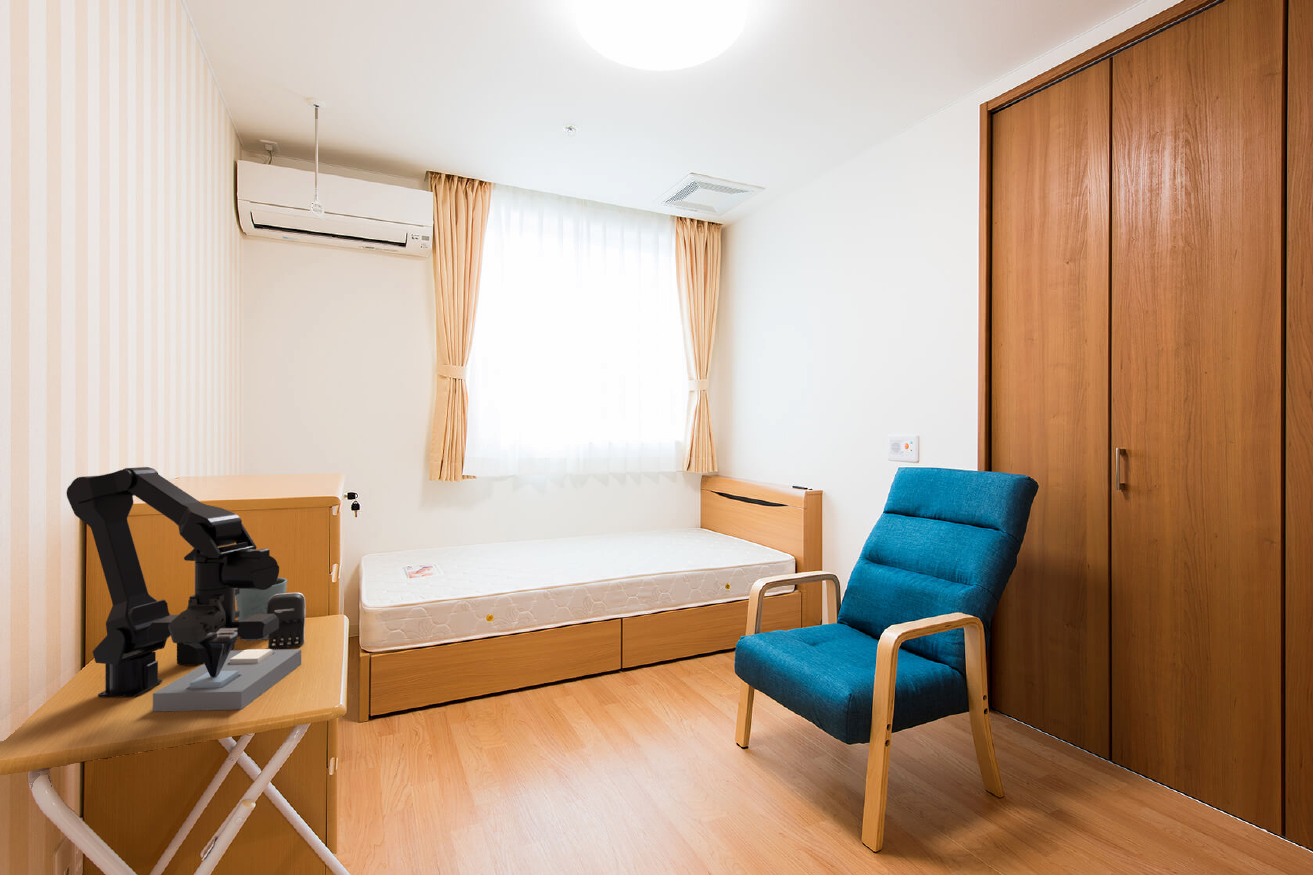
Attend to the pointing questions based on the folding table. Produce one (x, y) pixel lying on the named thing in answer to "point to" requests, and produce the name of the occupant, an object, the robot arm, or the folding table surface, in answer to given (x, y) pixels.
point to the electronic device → (189, 654)
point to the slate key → (214, 680)
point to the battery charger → (287, 620)
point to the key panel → (233, 694)
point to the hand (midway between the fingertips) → (214, 675)
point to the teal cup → (258, 600)
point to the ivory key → (251, 656)
